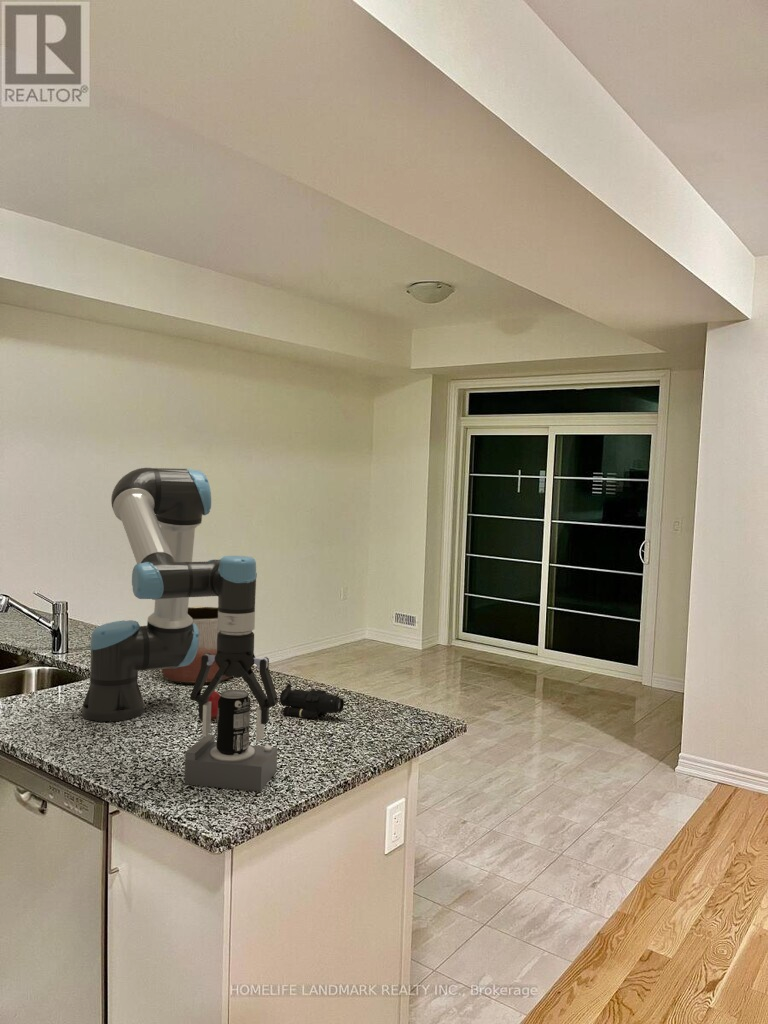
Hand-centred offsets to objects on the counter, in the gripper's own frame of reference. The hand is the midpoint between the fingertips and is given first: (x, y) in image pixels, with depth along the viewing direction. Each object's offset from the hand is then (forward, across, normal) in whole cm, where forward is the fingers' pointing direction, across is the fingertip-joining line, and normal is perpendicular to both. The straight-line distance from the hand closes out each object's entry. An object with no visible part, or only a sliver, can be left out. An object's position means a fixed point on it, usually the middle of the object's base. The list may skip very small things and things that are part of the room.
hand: (233, 736), depth 156 cm
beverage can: (+3, 0, 0) cm, 3 cm away
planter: (+9, -37, +73) cm, 82 cm away
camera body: (+9, 0, 0) cm, 9 cm away
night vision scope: (+9, +6, +44) cm, 45 cm away
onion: (+9, -18, +35) cm, 40 cm away
